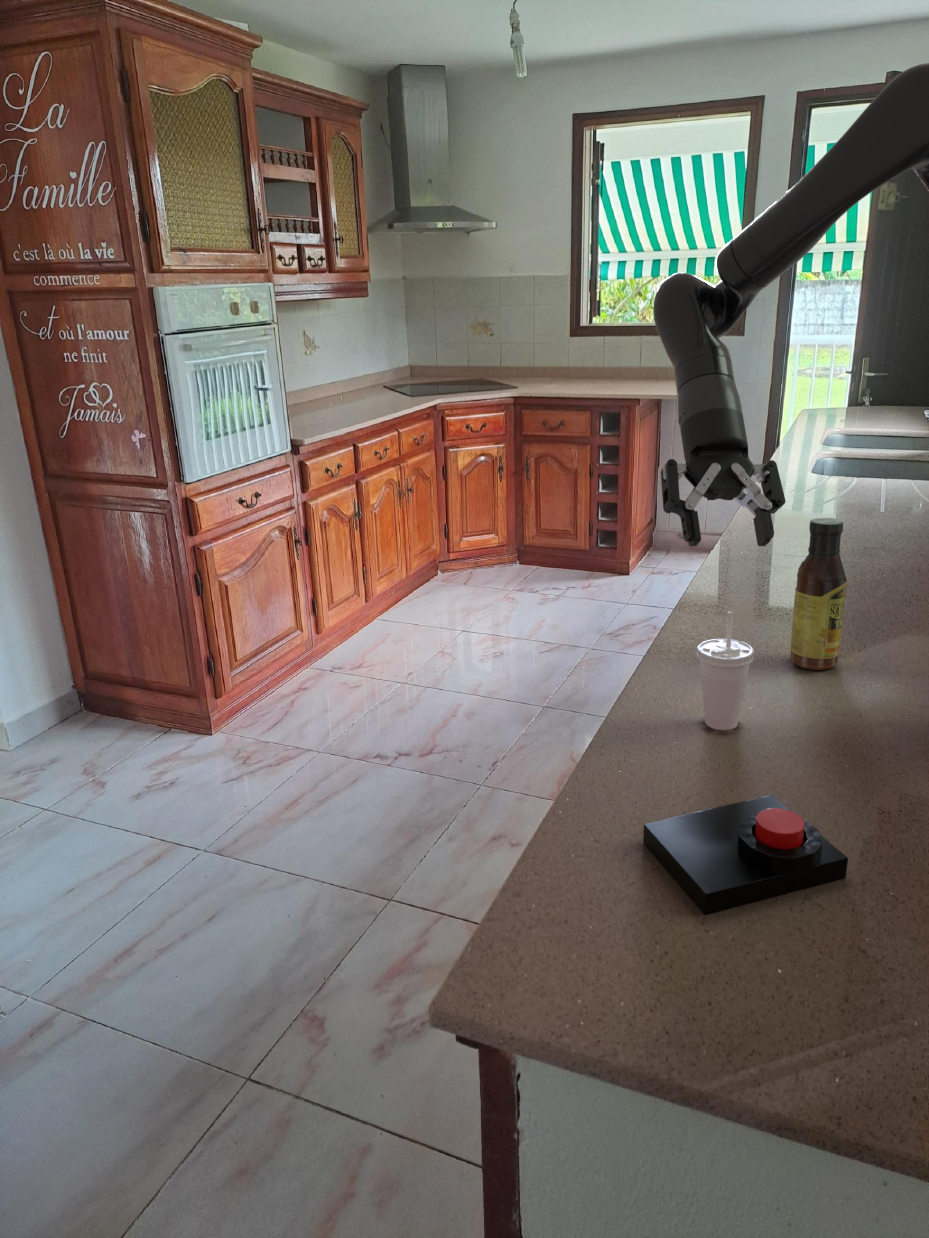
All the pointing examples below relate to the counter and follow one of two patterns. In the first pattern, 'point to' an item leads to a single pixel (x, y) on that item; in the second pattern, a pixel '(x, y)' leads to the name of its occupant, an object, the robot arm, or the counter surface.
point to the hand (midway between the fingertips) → (730, 543)
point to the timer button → (779, 828)
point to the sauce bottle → (819, 599)
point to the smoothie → (724, 678)
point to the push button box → (738, 856)
